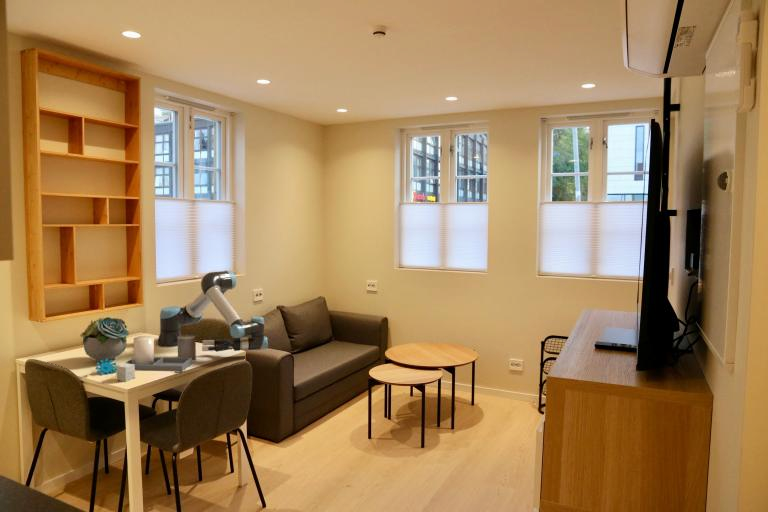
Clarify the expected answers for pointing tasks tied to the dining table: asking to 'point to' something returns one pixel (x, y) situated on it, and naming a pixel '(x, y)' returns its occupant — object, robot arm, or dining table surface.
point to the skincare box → (125, 372)
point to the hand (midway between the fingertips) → (202, 345)
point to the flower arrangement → (105, 338)
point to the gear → (106, 367)
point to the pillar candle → (187, 346)
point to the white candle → (144, 350)
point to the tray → (165, 364)
